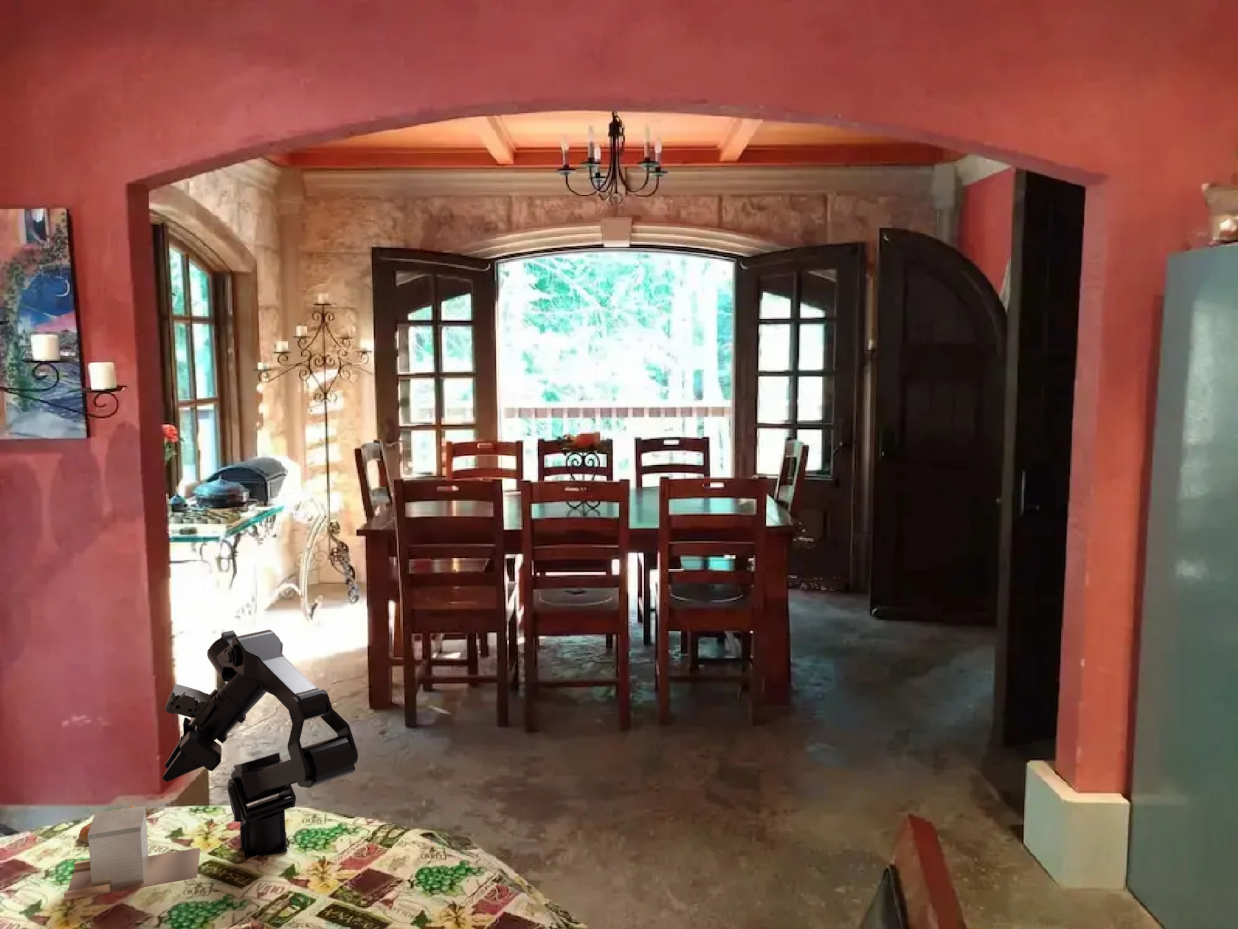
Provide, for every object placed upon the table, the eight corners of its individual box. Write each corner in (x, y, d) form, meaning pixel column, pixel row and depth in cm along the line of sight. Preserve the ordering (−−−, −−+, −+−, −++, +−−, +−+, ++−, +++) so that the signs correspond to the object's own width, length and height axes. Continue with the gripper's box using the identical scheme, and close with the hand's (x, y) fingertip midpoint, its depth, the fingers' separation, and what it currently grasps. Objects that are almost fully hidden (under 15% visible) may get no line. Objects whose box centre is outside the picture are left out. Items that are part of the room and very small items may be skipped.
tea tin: (149, 859, 156) (145, 805, 155) (144, 882, 149) (140, 826, 148) (98, 867, 153) (95, 813, 152) (91, 891, 147) (87, 834, 145)
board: (200, 850, 159) (199, 841, 159) (197, 879, 151) (196, 871, 150) (75, 870, 153) (74, 862, 153) (64, 902, 144) (63, 894, 144)
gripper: (199, 651, 165) (130, 723, 162) (192, 688, 147) (115, 769, 145) (251, 690, 168) (185, 761, 166) (251, 731, 151) (177, 810, 149)
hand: (165, 773), depth 156 cm, fingers open, 4 cm apart
